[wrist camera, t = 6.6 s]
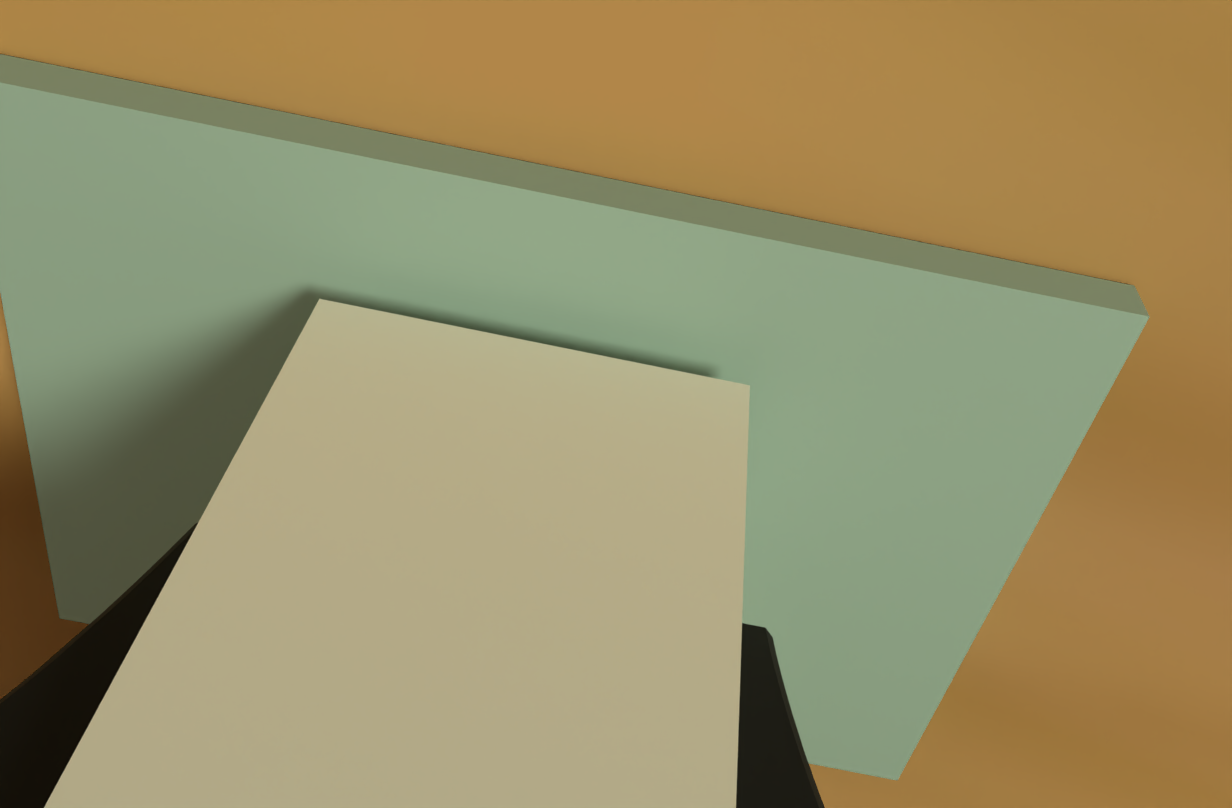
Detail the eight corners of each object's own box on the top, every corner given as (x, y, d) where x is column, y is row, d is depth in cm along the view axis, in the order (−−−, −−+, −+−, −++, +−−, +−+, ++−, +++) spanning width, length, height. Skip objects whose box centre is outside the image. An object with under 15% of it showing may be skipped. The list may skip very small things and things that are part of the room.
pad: (1134, 286, 12) (1149, 316, 12) (894, 745, 17) (897, 780, 17) (-8, 52, 12) (-39, 74, 11) (79, 587, 17) (59, 618, 16)
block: (749, 385, 12) (724, 1147, 7) (644, 720, 16) (574, 1373, 10) (319, 299, 12) (-62, 1000, 7) (318, 656, 16) (79, 1284, 10)
